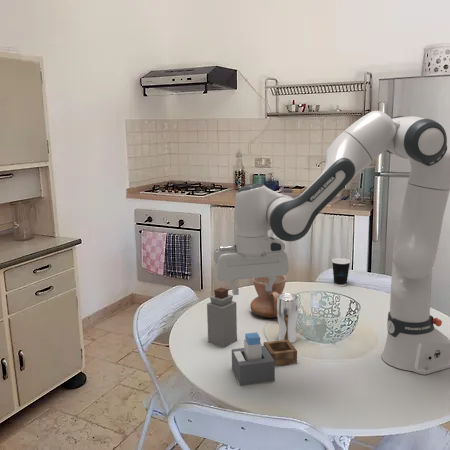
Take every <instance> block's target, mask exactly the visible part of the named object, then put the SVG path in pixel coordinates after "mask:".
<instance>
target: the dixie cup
mask: <svg viewBox="0 0 450 450" xmlns="http://www.w3.org/2000/svg"><path fill="white" fill-rule="evenodd" d="M331 263H332V273H333V283H334V286H335V287H337V288H344V287H346V286H347V284H348V277H349V273H350V272H349V271H350V263H352V262H351V260H350V259H348V258H342V257H341V258H339V257H335V258H332V259H331Z"/></svg>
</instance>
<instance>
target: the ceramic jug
mask: <svg viewBox="0 0 450 450" xmlns="http://www.w3.org/2000/svg"><path fill="white" fill-rule="evenodd" d="M286 279H287V277H286V275H282V276H276V280H275V282H274V284H273V285H272V291H270V292H266V291H265V284H268V282H269V280H270V278H269V277H261V278H252V281H253V286H254V289H255V291H256V294H257V297H255V298H254V299H252V300H251V302H250V304H249V305H250V310H251V312H252V313H253V314H255V315H256V316H259V317H262V318H269V319H270V318H271V319H272V318H277V296H278V295H279V294H283V292H284V290H285V286H286V281H287V280H286Z"/></svg>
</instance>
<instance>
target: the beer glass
mask: <svg viewBox="0 0 450 450" xmlns="http://www.w3.org/2000/svg"><path fill="white" fill-rule="evenodd" d="M298 298H299V297H298V295H296V294H294V293H290V292H285V293H283V292H282V294H279V295H278V296H277V317H276V318H277V322H278V335H277V341H279V340H289V341H290V342H291V344H293V343H295V342H297V334H296V327H297V321H298V315H299V299H298Z"/></svg>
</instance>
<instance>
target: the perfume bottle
mask: <svg viewBox="0 0 450 450" xmlns="http://www.w3.org/2000/svg"><path fill="white" fill-rule="evenodd" d="M213 290H214V291H213V293H214V295H211V296H209V299H210V302H208V303H206V311H207V312H206V314H207V315H206V316H207V321H206V322H207V343H208V344H211V345H214V346H217V347H219V348H223V349H226V348H227V347H229V346H230V345H232V344H233V343H235V342H237V341H238V333H237V332H238V329H237V328H238V324H237V323H238V322H237V321H238V320H237V318H238V317H237V302H236V301H233V299H234V298H233V297H234V295H233V294H229V289H228V288H224V287H218V288H216V289H213Z"/></svg>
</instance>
